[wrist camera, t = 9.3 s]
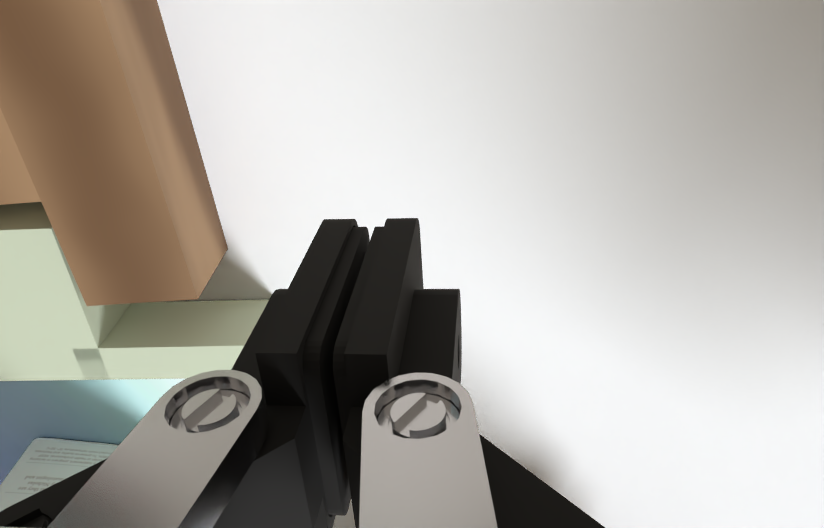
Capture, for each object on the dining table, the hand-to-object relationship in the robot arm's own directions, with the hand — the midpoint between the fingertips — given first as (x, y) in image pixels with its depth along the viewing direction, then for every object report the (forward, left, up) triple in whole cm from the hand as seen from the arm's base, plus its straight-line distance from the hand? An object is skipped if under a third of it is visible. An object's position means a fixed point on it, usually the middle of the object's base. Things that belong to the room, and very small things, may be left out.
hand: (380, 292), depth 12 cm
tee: (+13, 0, -12) cm, 18 cm away
